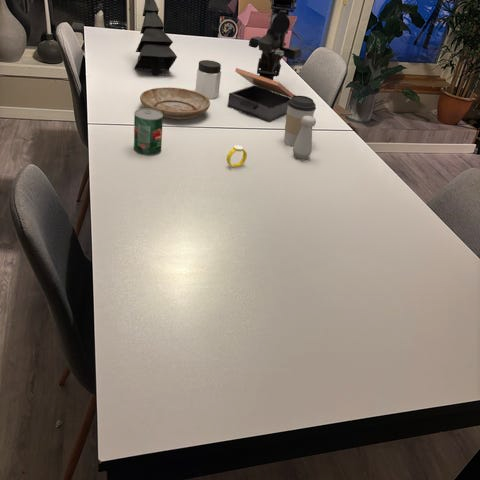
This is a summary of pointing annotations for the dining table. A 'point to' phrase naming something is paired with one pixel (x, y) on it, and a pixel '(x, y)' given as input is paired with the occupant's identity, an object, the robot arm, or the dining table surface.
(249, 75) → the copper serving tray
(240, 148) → the gold ring
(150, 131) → the canned tomato
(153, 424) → the dining table surface
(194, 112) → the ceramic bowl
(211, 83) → the jar
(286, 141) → the coffee cup
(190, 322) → the dining table surface
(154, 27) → the decorative tree
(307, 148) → the salt shaker
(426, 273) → the dining table surface
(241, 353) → the dining table surface
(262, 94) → the dark grey flat box
